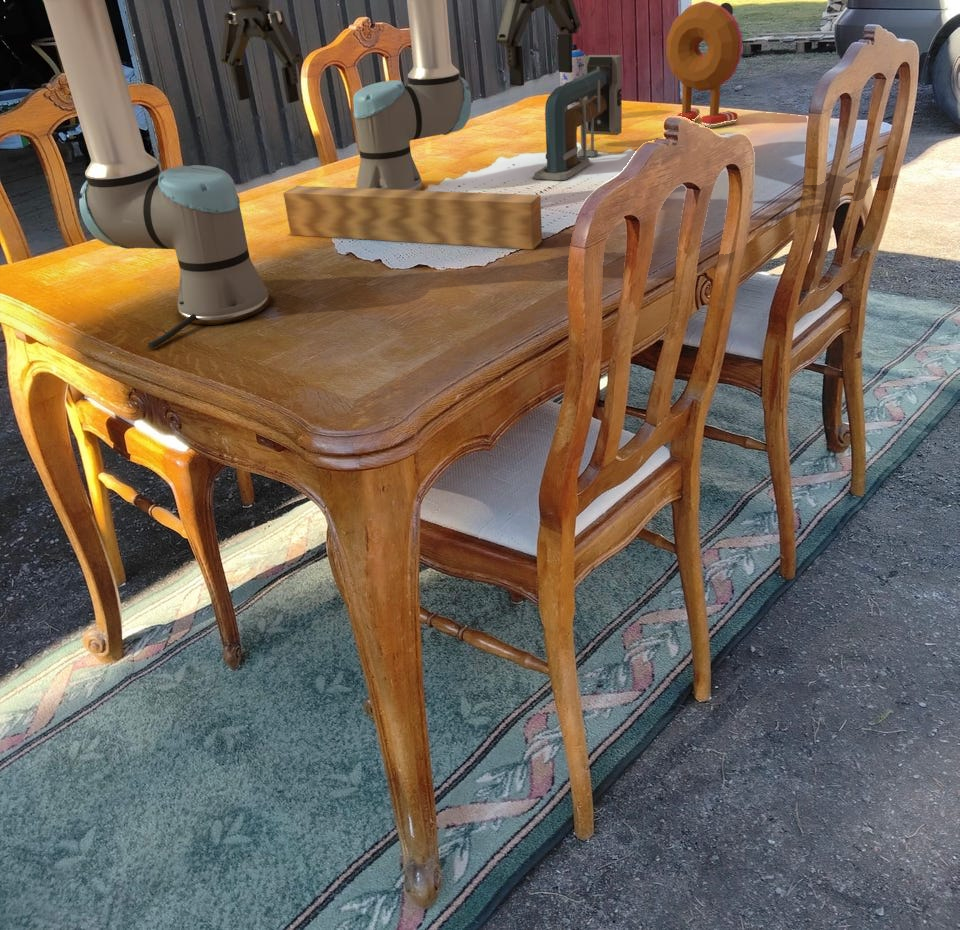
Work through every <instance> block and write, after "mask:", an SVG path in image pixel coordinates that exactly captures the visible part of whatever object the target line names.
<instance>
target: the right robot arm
mask: <svg viewBox="0 0 960 930" xmlns="http://www.w3.org/2000/svg"><path fill="white" fill-rule="evenodd" d="M406 5H407V6H406V7H407V15H408V23H409V24H408V25H409V35H410V36H409V37H410V45H411V54H412V56H411V57H412V65H413V66H412V69H411V70H410V71H409V72H408V74H407V83H408V85H405V84H404V83H403V82H402V80H398V79H391V80H386V81H379V82H375V83H371V84H369V85H366V86H364V87H362V88H360V89H358V90H357V91H356V92H355V93H354V95H353V98H352V104H353V117H354V122H355V130H356V137H357V145H358V152H359V158H360V159H359V160H360V161H359V162H360V163H359V167H358V173H357V180H356V183H355V184H356V186H355V188H366V189H392V190H418V191H422V189H423V179H422V177H421V175H420V172H419V170H418V167H417V165H416V163H415V161H414V159H413V156H412V151H411V141H415V140H419V139H426V138H431V137H436V136H440V135H441V136H442V135H443V136H447V135H449V134H451V133H456V132H459V131H461V130H463V129H464V128H465V127H466V125H467V123H468V122H469V118H470V117H471V111H472V95H471V90H470V89H469V84H468V82H467V80H465V78H463V77H461V76H460V70H459V69H458V68H456V67H455V65H453V63H452V53H451V42H450V29H449V17H448V5H447V0H406ZM542 7H545V8H546V9H547V11H548V13H549V15H550V16H551V19H553V21H554V23H555V25H556V27H557V28H558V30H559V31H560V33H558V34H557V61H558V66H557V67H558V73H560V72H565V73H571V72H572V51H573V44H574V35H573V34H577V33H578V32H579V29H580V28H581V25H582V24H581V20H580V18H579V17H580V16H579V15H578V11H577V8H576V5H575V2H574V0H505V3H504V7H503V11H502V16H501V20H500V24H499V28H498V33H497V36H496V42H497V44H500V45H501V46H502V47H505V48H506V49H505V50H506V64H507V67H508V71H509V86H517V87H522V86H525V75H524V53H523V45H519V44H520V42H521V40H522V37H523V34H524V32H525V30H526V27H527V26H528V23H529V21H530V18H531V16H532V13H534V12H535V11H536V9H540V8H542Z"/></svg>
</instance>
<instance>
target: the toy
mask: <svg viewBox="0 0 960 930" xmlns="http://www.w3.org/2000/svg"><path fill="white" fill-rule="evenodd" d="M733 14H734V8H733V6H732V5H731V3H729V2H723V3H722V4H720V5H719V4H716V3H713V2H711V1H706V0H703V1H700V2H697V3H694V4H691V5H689V6H687V7H686V9H685V10H683V11H682V12H681V13H680V14H679V15H678V16H677V17H676V18H675V19H674V21H673V22H672V24H671V27H670V29H669V32H668V35H667V37H666V51H665V52H666V53H665V54H666V55H665V56H666V59H667V63H668V66H669V68H670V72H671V73H672V74H673V75H674V77H675V78H676V79H677V80H678V82H680V83H681V85H682V92H681V93H682V97H681V99H682V100H681V102H682V103H681V105H682V106H681V107H682V108H681V109H682V110H681V112H682V113H680V112H679V113H678V114H677V115H676V117H677V116H682V117H686V118H688V119H690V120H691V121H694V120H692V119H695V118H696V117H697V116H698V115H699V114H700V113H701V112H700V110H699V109H698V108H695V107H692V100H693V89H694V90H696V91H699V92H701V91H703V92H704V91H705V92H706V91H710V99H709V100H710V101H709V114H707V115H703V116H702V117H701V120H700V123H701V122H703V123H706V124H709V125H705V124H702V123H701V126H702V125H704V126H706V127H705V128H710V129H711V128H713V129H714V128H717V127H722V126H726V125H733V124H736V123H737V122H738V117H739V116H738V113H737V112H735V111H729V110H727V111H722V112H720V104H721V103H720V101H721V86H722V85H723V84H725V83H726V82H728V81H729V80H730V79H731V78H732V77H733V75H734V74H735V73H736V70H737V68H738V65H739V63H740V61H741V57H742V52H743V51H742V50H743V37H742V31H741V29H740V26H739V23H738V21H737V19H736V18H735V17H734V16H733ZM702 42H705V43H706V45H707V51H706V52H705V53H703V52H702V51H701V49H700V44H701V43H702ZM681 114H682V115H681ZM698 119H700V115H699V117H698V118H696V119H695V120H696V121H697V120H698ZM736 119H737V120H736ZM731 120H736V121H731ZM696 121H694V123H695V122H696ZM724 121H731V122H726V123H722V124H717V123H721V122H724ZM711 124H717V125H711ZM704 126H703V127H704Z"/></svg>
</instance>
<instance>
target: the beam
mask: <svg viewBox="0 0 960 930" xmlns="http://www.w3.org/2000/svg"><path fill="white" fill-rule="evenodd" d="M282 193H283V198H284V204H285V205H284V206H285V211H286V216H287V222H288V228H289V232H290V233H289V234H290V235H291V236H303V237H304V236H305V237H317V238H319V237H320V238H335V239H336V238H337V239H353V240H369V241H387V242H400V243H401V242H402V243H418V244H419V243H420V244H438V245H451V246H468V247H470V246H471V247H485V248H487V247H488V248H503V249H517V250H518V249H519V250H520V249H521V250H534V249H535V248H536V247H537V246H538V245H540V243H542V242H543V227H542V205H541V204H542V203H541V195H540V194H519V193H496V192H495V193H493V192H468V191H467V192H466V191H442V190H420V191H418V190H392V189H366V188H356V187H339V186H338V187H336V186H313V185H312V186H311V185H310V186H309V185H296V186H293V187H292V188H290V189H287V190H286V191H284V192H282Z"/></svg>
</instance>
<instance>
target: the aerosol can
mask: <svg viewBox="0 0 960 930" xmlns="http://www.w3.org/2000/svg"><path fill="white" fill-rule="evenodd" d="M586 56H587V55H586V54H585V52H584V51H583V50H581V49H579V48H578V44H577V43H573V51H572V72H571V73H565V72H559V79H560V81H559V83H560V84H559V86H562V85H564V84H566V83H568V82H570V81H573V80H575V79H577V78H579V77H581V76H583V75H585V57H586ZM578 104H580V102H574V103H572V104H570V105H568V109H570V108H572V107H574V106H576V105H578Z"/></svg>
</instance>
